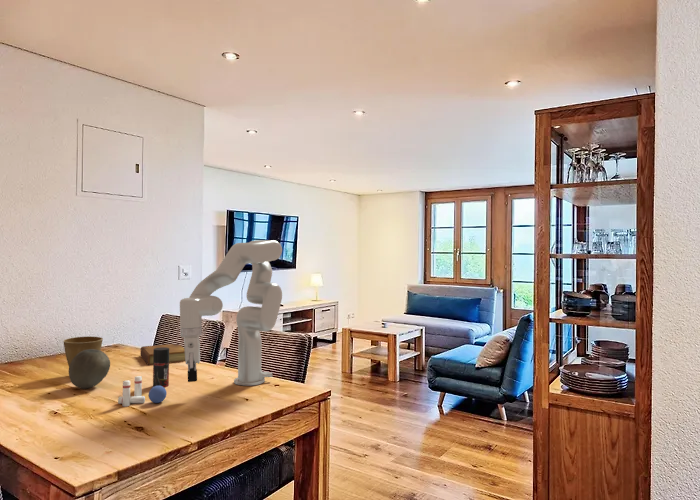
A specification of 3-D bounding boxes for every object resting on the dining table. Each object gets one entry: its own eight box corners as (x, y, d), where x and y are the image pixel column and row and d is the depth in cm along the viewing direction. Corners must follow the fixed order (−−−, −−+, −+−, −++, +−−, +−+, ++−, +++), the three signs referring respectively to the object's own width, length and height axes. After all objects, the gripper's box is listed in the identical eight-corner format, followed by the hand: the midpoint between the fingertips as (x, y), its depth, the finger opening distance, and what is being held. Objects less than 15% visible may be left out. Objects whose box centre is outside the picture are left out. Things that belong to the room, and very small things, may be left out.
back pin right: (142, 399, 178) (142, 375, 178) (141, 401, 175) (141, 377, 175) (134, 399, 177) (135, 376, 177) (133, 401, 174) (133, 377, 175)
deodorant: (163, 388, 192) (163, 350, 192) (149, 387, 193) (150, 349, 193) (171, 384, 198) (172, 347, 198) (158, 383, 199) (159, 347, 199)
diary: (140, 357, 251) (140, 346, 251) (177, 354, 261) (177, 343, 261) (147, 366, 232) (148, 354, 232) (188, 362, 241) (188, 350, 242)
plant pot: (54, 378, 205) (55, 340, 205) (85, 370, 219) (86, 335, 219) (79, 382, 200) (80, 343, 200) (109, 374, 213) (110, 337, 214)
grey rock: (81, 394, 182) (81, 354, 182) (61, 388, 190) (62, 350, 190) (116, 386, 194) (117, 348, 194) (96, 381, 202) (97, 345, 202)
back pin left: (130, 404, 171) (131, 380, 172) (129, 406, 169) (129, 381, 169) (122, 404, 171) (123, 380, 171) (121, 406, 168) (122, 382, 168)
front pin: (145, 394, 174) (119, 395, 173) (143, 397, 172) (117, 398, 170) (145, 401, 175) (120, 401, 173) (143, 404, 172) (117, 405, 171)
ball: (146, 395, 175) (162, 401, 177) (144, 402, 170) (161, 408, 172) (153, 380, 176) (169, 386, 178) (152, 387, 170) (169, 392, 172)
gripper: (201, 334, 172) (202, 386, 172) (202, 327, 186) (203, 374, 187) (179, 336, 170) (180, 388, 170) (181, 328, 184) (183, 376, 185)
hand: (192, 380), depth 179 cm, fingers closed
